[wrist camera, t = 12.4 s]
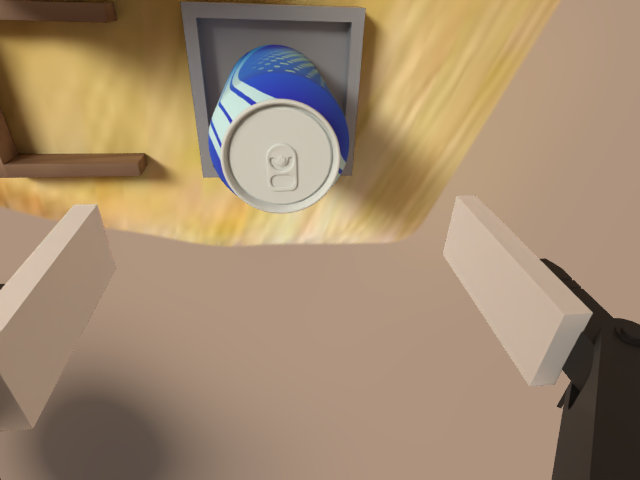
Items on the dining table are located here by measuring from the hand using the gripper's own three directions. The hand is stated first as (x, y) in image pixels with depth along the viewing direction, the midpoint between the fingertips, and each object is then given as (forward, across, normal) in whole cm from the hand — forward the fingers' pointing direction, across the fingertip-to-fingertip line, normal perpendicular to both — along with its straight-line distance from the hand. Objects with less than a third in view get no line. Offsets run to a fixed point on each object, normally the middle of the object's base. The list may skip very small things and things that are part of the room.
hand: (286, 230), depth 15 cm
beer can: (+24, 0, 0) cm, 24 cm away
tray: (+25, 0, 0) cm, 25 cm away
